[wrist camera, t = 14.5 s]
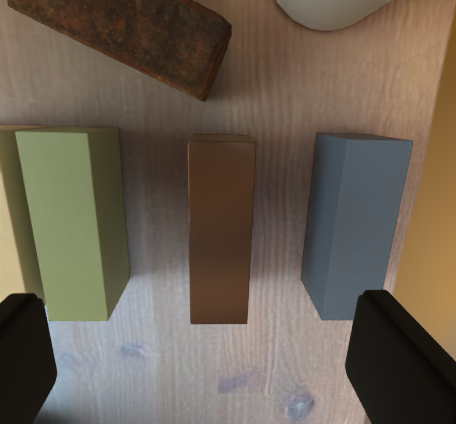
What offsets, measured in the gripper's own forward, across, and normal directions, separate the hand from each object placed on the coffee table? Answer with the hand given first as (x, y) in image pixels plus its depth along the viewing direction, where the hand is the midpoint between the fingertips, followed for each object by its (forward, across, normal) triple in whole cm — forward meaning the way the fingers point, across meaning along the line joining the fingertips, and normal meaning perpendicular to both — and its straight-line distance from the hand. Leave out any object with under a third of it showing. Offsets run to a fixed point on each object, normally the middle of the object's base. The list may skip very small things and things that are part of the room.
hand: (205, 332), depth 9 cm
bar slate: (+13, -9, +1) cm, 16 cm away
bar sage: (+13, +8, 0) cm, 15 cm away
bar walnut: (+13, -1, +1) cm, 13 cm away
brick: (+14, +4, -10) cm, 18 cm away
